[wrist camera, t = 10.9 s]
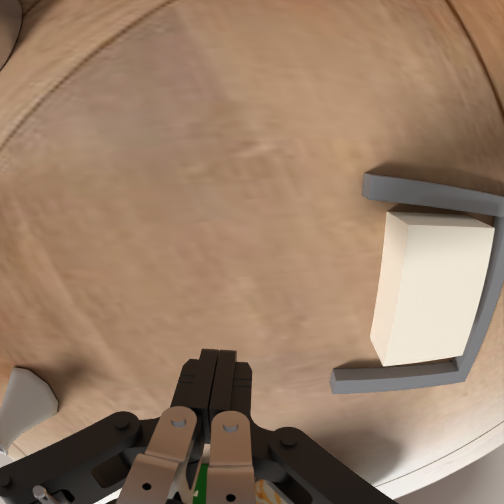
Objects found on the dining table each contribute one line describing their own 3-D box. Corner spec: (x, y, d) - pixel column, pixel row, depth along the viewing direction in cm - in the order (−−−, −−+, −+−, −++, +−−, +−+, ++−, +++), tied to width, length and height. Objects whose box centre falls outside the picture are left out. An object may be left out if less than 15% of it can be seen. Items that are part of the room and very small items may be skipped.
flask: (53, 379, 27) (8, 441, 18) (64, 419, 30) (30, 476, 20) (7, 357, 27) (-39, 407, 18) (21, 398, 30) (-16, 447, 20)
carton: (385, 210, 20) (408, 224, 17) (464, 214, 20) (494, 227, 16) (368, 335, 24) (383, 366, 20) (441, 329, 23) (462, 355, 19)
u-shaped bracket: (364, 173, 19) (371, 175, 18) (509, 197, 19) (520, 201, 17) (329, 382, 25) (332, 394, 23) (458, 372, 24) (464, 381, 23)
